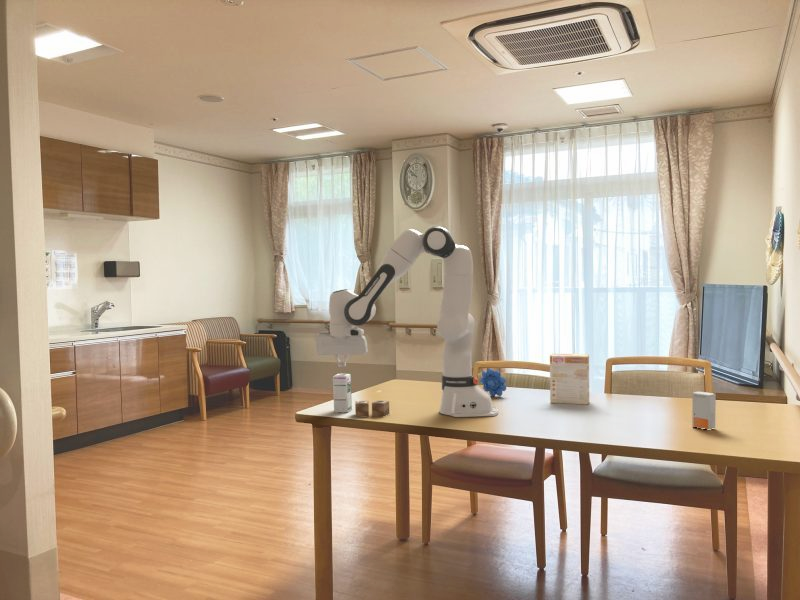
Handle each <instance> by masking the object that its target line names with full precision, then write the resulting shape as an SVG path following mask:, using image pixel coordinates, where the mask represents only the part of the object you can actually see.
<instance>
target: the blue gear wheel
mask: <svg viewBox="0 0 800 600" xmlns="http://www.w3.org/2000/svg"><path fill="white" fill-rule="evenodd" d="M481 376H482V377H480V380H479V382H480V384H482V385H483V386H482V389H483V390H484V391H485V392H486V393H488V394H489V395H490V397H495V396H496V395H497V396H498V397H500V396H502V395H503V392H506V390H507V385H505V384H506V378H505V377H503V376H502V375H501V372H500V371H499V370H493V369H492V368H488V369H487V370H486V371H485V370H483V371H482V372H481Z"/></svg>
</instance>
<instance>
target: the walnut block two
mask: <svg viewBox="0 0 800 600" xmlns="http://www.w3.org/2000/svg"><path fill="white" fill-rule="evenodd" d="M388 414H389V415H390V401H388V400H376V401H373V402H372V403H371V416H372V415H373V416H372V417H380V416H385V417H386V415H387V416H389V415H388Z"/></svg>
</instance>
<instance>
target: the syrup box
mask: <svg viewBox="0 0 800 600" xmlns="http://www.w3.org/2000/svg"><path fill="white" fill-rule="evenodd" d="M351 375H352V374H351V373H345V372H344V373H337V374H335V375H333V376H332V390H333V391H332V393H333V412H334V413H338V412H348V413H349V412H350V411H352V409H353V405H352V378H351V377H352V376H351Z"/></svg>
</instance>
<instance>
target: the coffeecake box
mask: <svg viewBox="0 0 800 600" xmlns="http://www.w3.org/2000/svg"><path fill="white" fill-rule="evenodd" d="M549 389H550V390H549V392H550V393H549V395H550V397H549V402H550V404H551V403H553V404H554V403H555V404H569V405H570V404H572V405H573V404H575V405H589V403H590V354H587V353H586V354H583V353H582V354H578V353H577V354H575V353H573V354H572V353H568V354H567V353H552V354H550V355H549Z"/></svg>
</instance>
